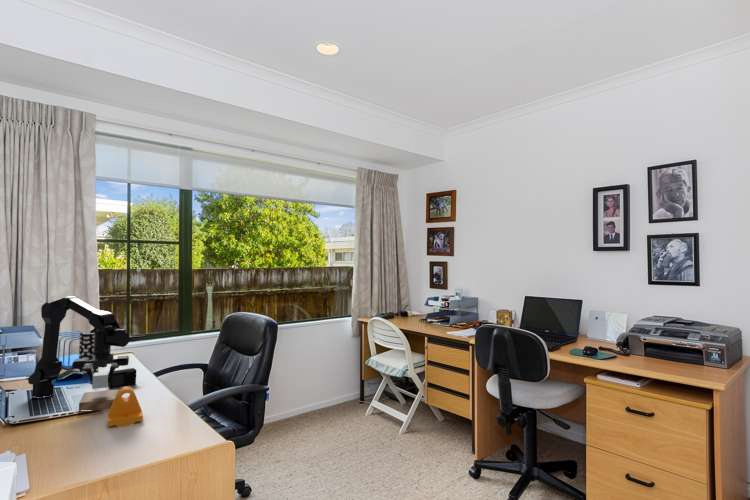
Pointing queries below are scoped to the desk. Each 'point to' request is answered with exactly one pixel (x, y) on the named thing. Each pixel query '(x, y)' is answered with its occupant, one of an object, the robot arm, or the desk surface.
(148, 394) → the desk surface
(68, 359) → the file sorter
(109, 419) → the bracket
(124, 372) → the digital camera
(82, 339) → the spotted tube
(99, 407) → the walnut block
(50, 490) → the desk surface
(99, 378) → the slate cube
